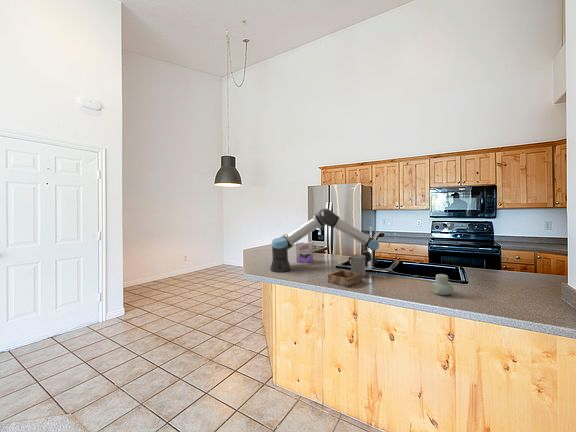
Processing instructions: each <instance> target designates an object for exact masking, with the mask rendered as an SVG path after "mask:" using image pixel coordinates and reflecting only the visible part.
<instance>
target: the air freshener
mask: <svg viewBox="0 0 576 432" xmlns="http://www.w3.org/2000/svg"><path fill="white" fill-rule="evenodd" d="M430 289H431V292H432V293H434V294H436V295H439V296H449V295H451V294H453V292H454V291H455V290H454V286H453V285H451V284H450V282H449V276H448V274H444V273H437V274H436V275H435V281H434V282H432V283H430Z"/></svg>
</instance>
